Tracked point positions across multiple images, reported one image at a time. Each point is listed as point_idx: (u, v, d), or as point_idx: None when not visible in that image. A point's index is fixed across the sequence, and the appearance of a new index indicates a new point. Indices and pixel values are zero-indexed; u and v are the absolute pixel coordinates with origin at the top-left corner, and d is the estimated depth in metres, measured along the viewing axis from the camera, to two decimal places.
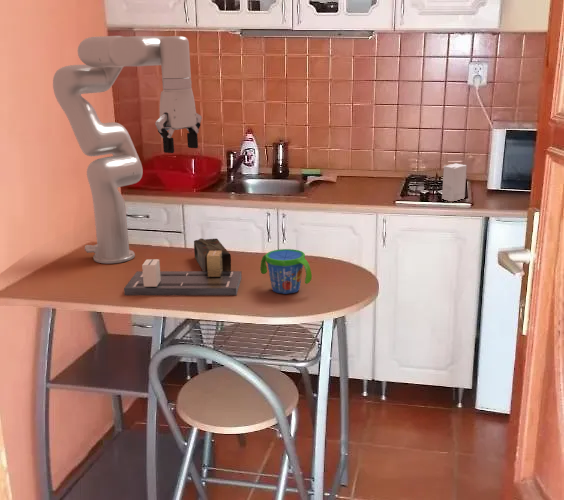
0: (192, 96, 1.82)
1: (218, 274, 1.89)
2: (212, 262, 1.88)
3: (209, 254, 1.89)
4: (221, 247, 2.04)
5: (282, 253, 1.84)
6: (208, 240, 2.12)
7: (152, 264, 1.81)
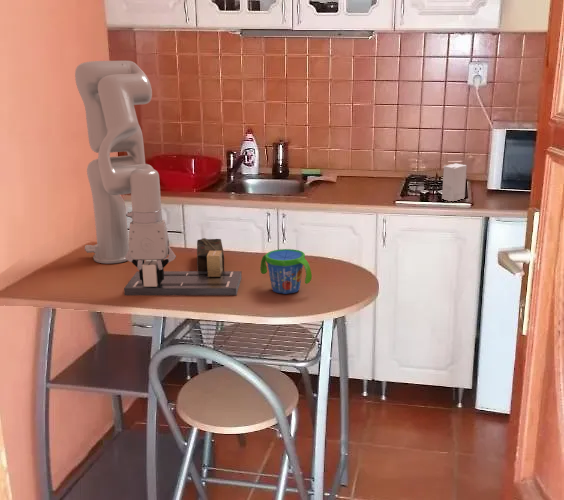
0: None
1: (218, 274, 1.89)
2: (212, 262, 1.88)
3: (209, 254, 1.89)
4: (218, 248, 2.03)
5: (282, 253, 1.84)
6: (210, 240, 2.12)
7: (152, 264, 1.81)
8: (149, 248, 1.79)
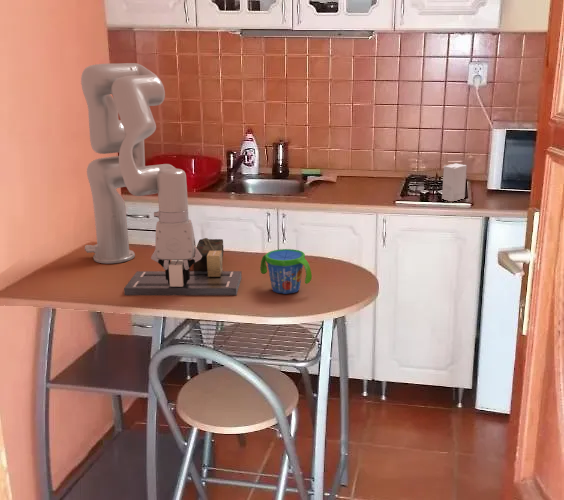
0: None
1: (218, 274, 1.89)
2: (212, 262, 1.88)
3: (209, 254, 1.89)
4: (217, 248, 2.03)
5: (282, 253, 1.84)
6: (212, 240, 2.12)
7: (178, 264, 1.81)
8: (176, 248, 1.78)
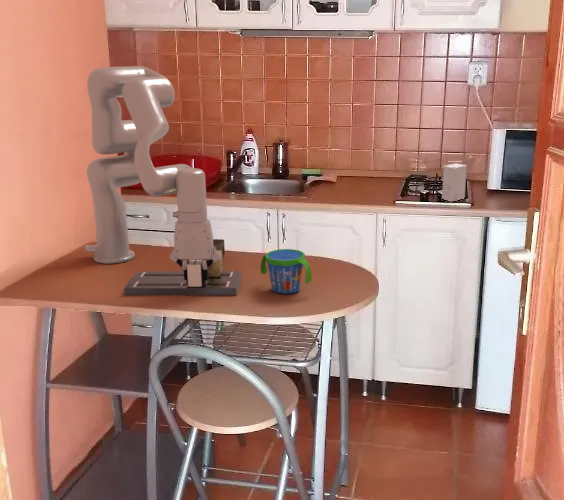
0: None
1: (218, 274, 1.89)
2: None
3: None
4: (216, 248, 2.03)
5: (282, 253, 1.84)
6: (213, 240, 2.12)
7: (197, 264, 1.80)
8: (194, 248, 1.78)
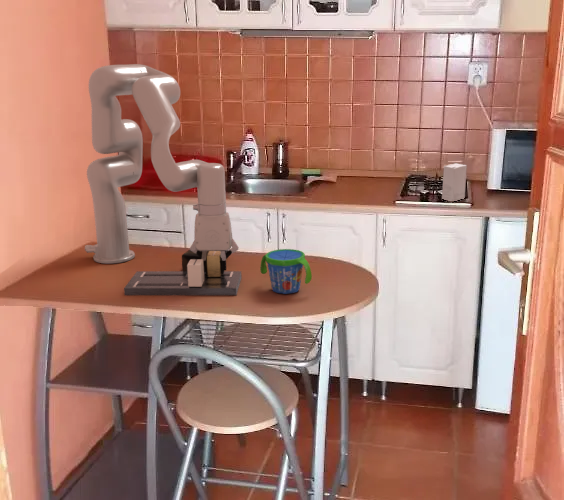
0: None
1: (218, 274, 1.89)
2: (212, 262, 1.88)
3: (209, 254, 1.89)
4: None
5: (282, 253, 1.84)
6: None
7: (197, 264, 1.80)
8: (214, 239, 1.86)
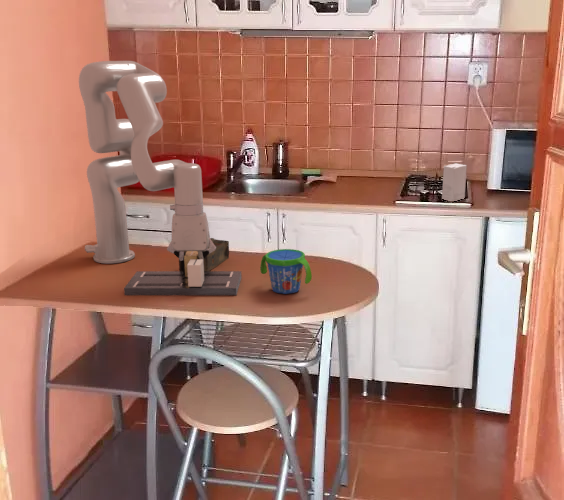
0: None
1: None
2: None
3: (186, 254, 1.89)
4: None
5: (282, 253, 1.84)
6: (217, 241, 2.11)
7: (197, 264, 1.80)
8: (191, 239, 1.86)
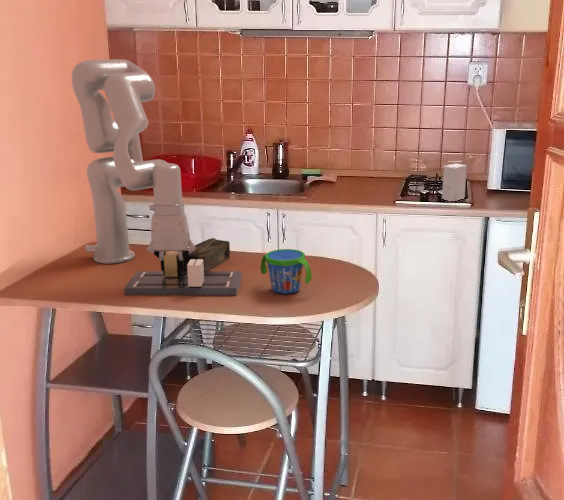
0: None
1: (175, 274, 1.89)
2: (169, 262, 1.88)
3: (166, 254, 1.89)
4: (208, 249, 2.02)
5: (282, 253, 1.84)
6: (217, 241, 2.11)
7: (197, 264, 1.80)
8: (170, 240, 1.86)
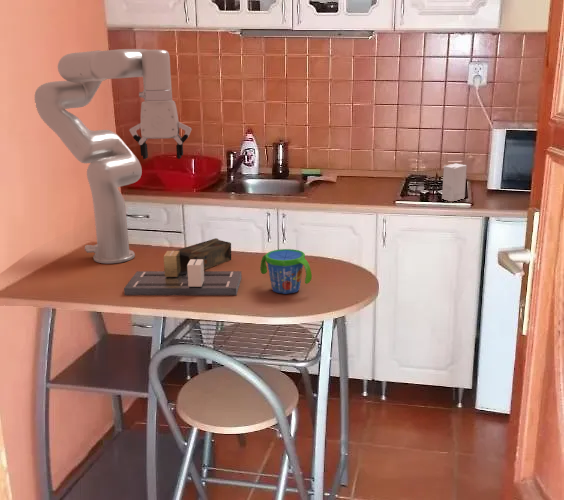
0: None
1: (175, 274, 1.89)
2: (169, 262, 1.88)
3: (166, 254, 1.89)
4: (204, 250, 2.02)
5: (282, 253, 1.84)
6: (219, 242, 2.10)
7: (197, 264, 1.80)
8: (160, 126, 1.87)
